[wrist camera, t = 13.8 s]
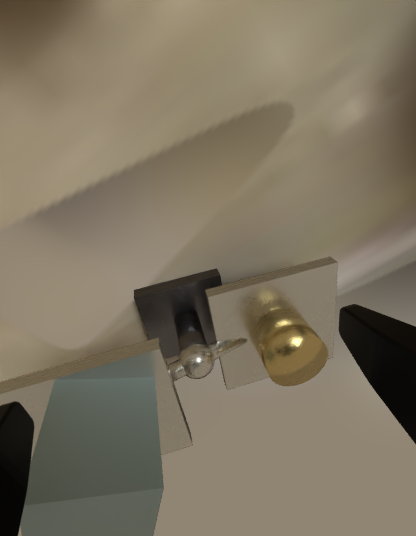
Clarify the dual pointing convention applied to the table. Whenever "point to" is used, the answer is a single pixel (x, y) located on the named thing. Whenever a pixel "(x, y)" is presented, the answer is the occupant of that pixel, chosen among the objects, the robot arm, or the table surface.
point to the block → (96, 461)
